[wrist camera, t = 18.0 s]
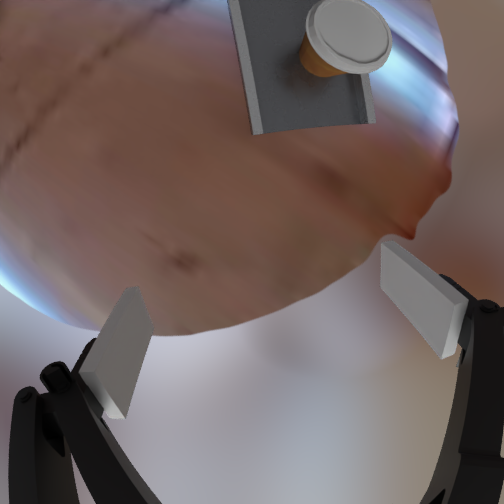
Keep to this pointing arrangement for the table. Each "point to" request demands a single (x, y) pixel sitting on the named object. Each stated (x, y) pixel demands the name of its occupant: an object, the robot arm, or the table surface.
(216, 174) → the table surface
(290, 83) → the tray
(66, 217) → the table surface
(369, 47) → the disposable coffee cup
